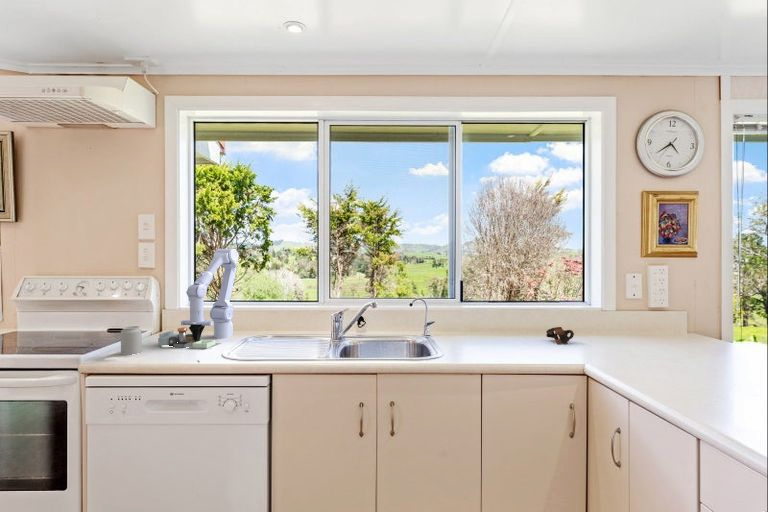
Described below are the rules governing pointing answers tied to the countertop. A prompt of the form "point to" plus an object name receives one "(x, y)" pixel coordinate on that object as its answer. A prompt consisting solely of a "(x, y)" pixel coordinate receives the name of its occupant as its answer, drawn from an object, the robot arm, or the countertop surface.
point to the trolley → (168, 338)
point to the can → (131, 340)
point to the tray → (204, 344)
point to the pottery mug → (560, 335)
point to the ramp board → (187, 345)
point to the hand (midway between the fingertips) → (197, 341)
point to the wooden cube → (190, 338)
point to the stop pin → (182, 335)
